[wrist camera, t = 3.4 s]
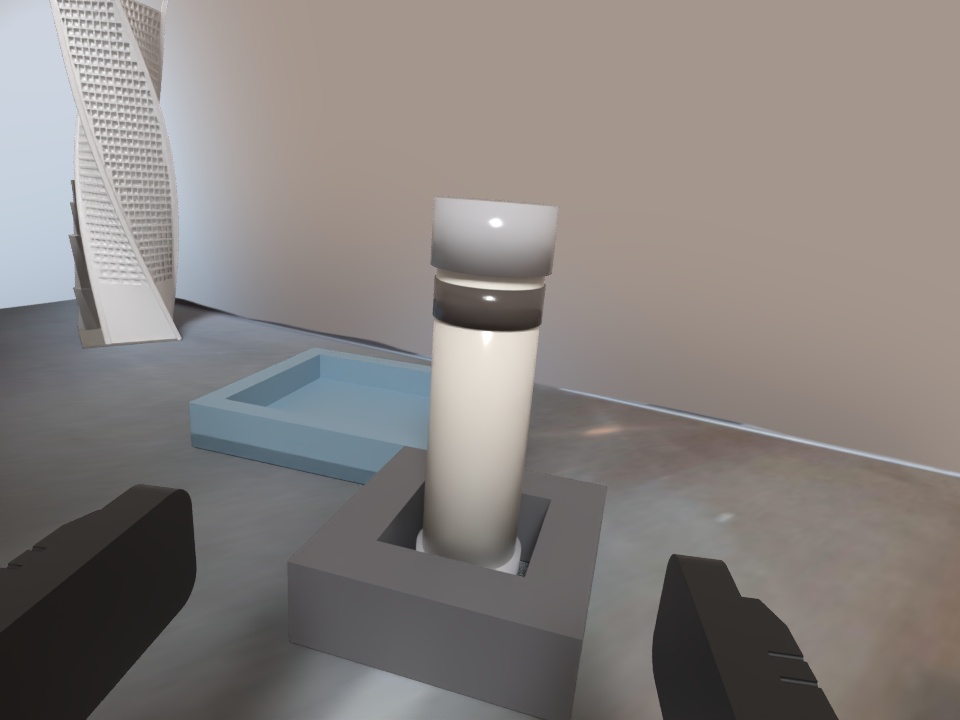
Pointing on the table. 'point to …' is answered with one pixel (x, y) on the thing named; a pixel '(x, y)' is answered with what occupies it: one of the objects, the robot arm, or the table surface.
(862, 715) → the table surface
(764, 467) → the table surface
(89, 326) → the skyscraper
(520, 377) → the fuse
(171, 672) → the table surface
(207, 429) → the tray
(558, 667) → the fuse holder
